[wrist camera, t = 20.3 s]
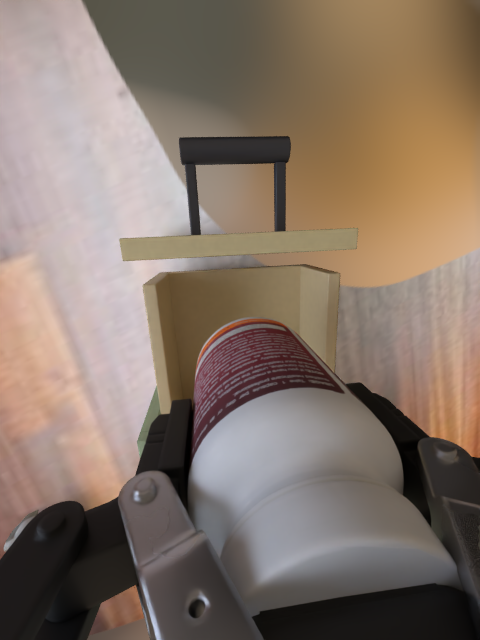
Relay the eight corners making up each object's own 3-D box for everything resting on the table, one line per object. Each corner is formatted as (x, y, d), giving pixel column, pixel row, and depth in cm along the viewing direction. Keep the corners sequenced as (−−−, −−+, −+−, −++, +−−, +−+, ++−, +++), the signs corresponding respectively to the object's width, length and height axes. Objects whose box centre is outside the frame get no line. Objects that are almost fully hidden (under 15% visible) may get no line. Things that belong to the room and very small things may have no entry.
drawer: (135, 159, 20) (99, 120, 14) (317, 156, 21) (366, 119, 15) (169, 412, 26) (156, 471, 20) (310, 398, 27) (342, 448, 21)
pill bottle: (175, 390, 15) (107, 715, 5) (231, 292, 14) (298, 442, 4) (270, 431, 17) (375, 752, 6) (327, 345, 16) (574, 563, 5)
